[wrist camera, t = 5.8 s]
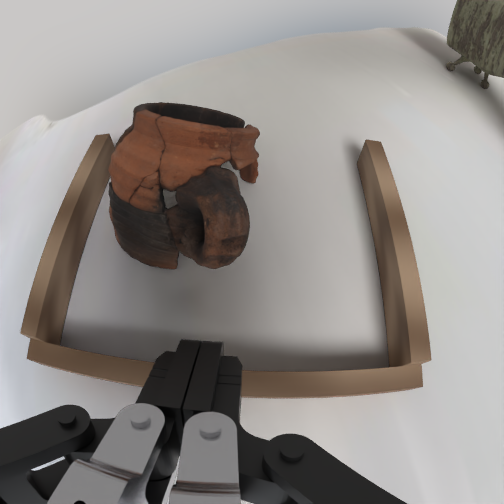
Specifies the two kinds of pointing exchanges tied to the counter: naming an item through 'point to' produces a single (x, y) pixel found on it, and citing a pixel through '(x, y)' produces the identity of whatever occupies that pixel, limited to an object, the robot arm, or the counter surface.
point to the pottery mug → (182, 185)
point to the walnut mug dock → (253, 382)
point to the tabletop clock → (478, 36)
